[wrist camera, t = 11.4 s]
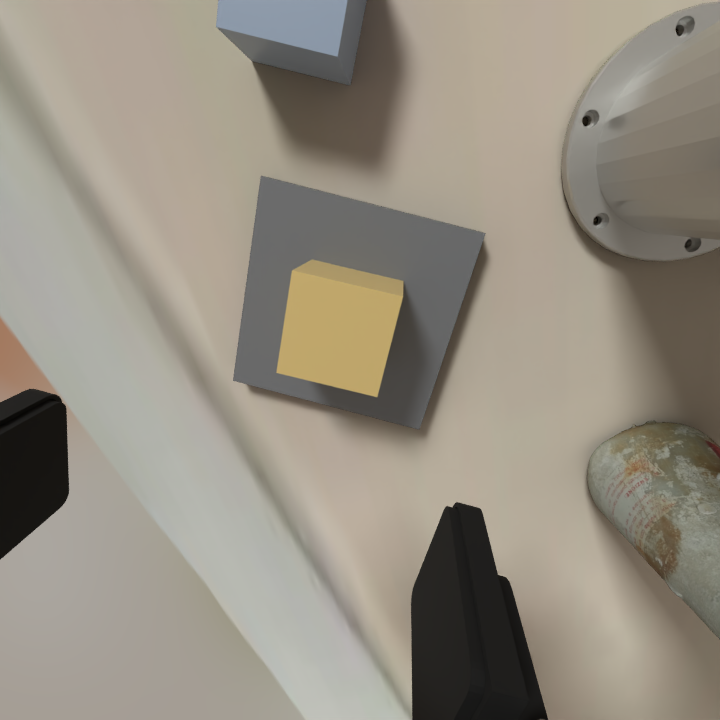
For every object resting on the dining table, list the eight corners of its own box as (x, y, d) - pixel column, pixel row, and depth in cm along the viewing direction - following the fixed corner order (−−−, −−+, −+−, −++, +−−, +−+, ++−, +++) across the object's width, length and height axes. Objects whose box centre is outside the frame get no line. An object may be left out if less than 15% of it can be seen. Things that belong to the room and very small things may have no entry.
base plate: (481, 232, 26) (485, 233, 25) (418, 419, 31) (419, 429, 30) (268, 177, 26) (260, 175, 25) (240, 372, 31) (233, 380, 30)
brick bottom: (403, 281, 26) (403, 296, 21) (381, 366, 28) (377, 397, 24) (312, 259, 26) (291, 270, 22) (297, 345, 28) (276, 372, 24)
